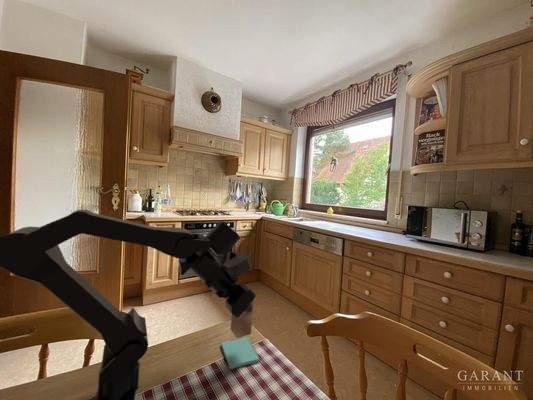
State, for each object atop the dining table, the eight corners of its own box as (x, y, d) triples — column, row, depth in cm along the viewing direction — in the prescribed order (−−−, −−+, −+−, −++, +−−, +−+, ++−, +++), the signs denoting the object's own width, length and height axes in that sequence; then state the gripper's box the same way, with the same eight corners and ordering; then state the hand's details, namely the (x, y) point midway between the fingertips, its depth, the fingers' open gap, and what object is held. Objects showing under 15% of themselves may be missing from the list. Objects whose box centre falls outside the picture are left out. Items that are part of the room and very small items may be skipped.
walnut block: (236, 338, 59) (239, 299, 58) (230, 329, 62) (233, 292, 62) (250, 334, 61) (253, 296, 60) (244, 325, 64) (246, 290, 64)
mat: (230, 369, 56) (230, 365, 56) (221, 345, 64) (221, 342, 64) (259, 361, 59) (259, 358, 59) (247, 340, 67) (247, 337, 67)
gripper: (250, 255, 51) (287, 296, 57) (220, 237, 66) (251, 271, 73) (212, 296, 47) (256, 336, 53) (190, 267, 62) (225, 300, 69)
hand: (247, 306), depth 62 cm, fingers closed on walnut block, 4 cm apart
